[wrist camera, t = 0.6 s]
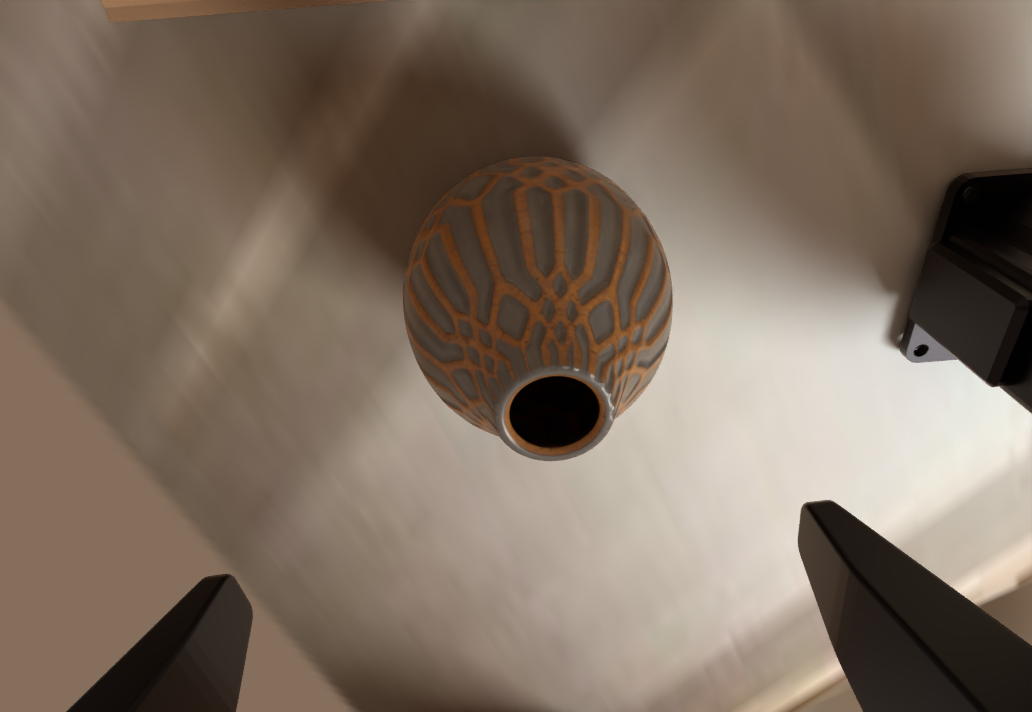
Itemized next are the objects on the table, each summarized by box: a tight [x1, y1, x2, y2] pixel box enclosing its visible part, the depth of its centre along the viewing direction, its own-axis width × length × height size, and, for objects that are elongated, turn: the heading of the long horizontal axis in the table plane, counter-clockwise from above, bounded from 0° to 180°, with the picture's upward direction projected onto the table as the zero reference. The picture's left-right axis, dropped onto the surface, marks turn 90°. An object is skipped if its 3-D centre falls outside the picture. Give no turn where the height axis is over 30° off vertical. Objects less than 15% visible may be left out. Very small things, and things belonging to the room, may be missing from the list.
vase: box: [403, 156, 673, 461], centre depth 16 cm, size 7×7×9 cm
